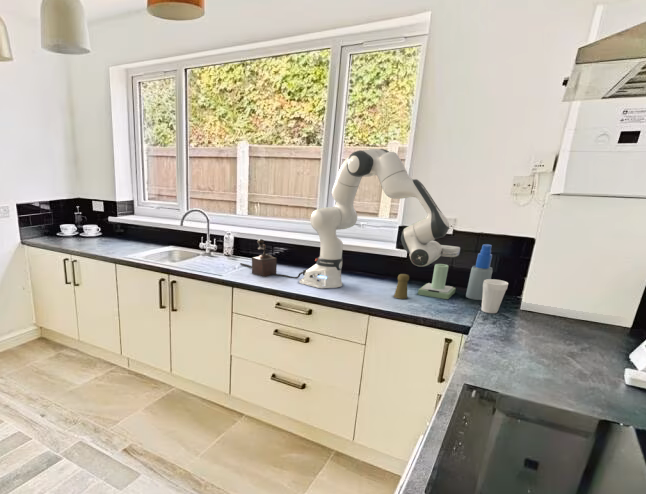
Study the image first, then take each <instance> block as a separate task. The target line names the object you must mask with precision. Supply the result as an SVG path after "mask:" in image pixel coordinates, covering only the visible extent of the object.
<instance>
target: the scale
mask: <svg viewBox="0 0 646 494" xmlns="http://www.w3.org/2000/svg"><path fill="white" fill-rule="evenodd" d="M431 285H432V282H431V283H430V282H428V283H425V284H424V285H423V286H421V287H419V288H418V291H417V295H418V296H424V297H431V298H436V299H442V300H449V299H451V297H453V295H455V293H456V287H454V286H450V285H445V287H444V289H434V288H432V287H431Z"/></svg>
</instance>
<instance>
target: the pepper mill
mask: <svg viewBox="0 0 646 494" xmlns="http://www.w3.org/2000/svg"><path fill="white" fill-rule="evenodd" d="M256 242H257V244H258V247H257V250H263V253H261V254H259V255H258V256H252V257H251V266H252V268H251V274H252V275H254V276H259V277H261V278H264V277H270V276H272V275H271V274H272V273H274V274H277V266H278V265H277V264H278V258H277V257H274V256H272V255H270V253H269V252H268V253H266V249H267V247H266V246H267V245H266V244H264V243H265V241H264V239H262V238H259V239H258V240H257V241H256Z"/></svg>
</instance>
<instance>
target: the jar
mask: <svg viewBox="0 0 646 494" xmlns="http://www.w3.org/2000/svg"><path fill="white" fill-rule="evenodd" d="M448 272H449V265H448V264H446V263H445V264H444V263H435V264H434V268H433V274H432V280H431V284H432V285H431V287H432V288H434V289H444V287H445V286H446V283H447V277H448Z"/></svg>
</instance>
